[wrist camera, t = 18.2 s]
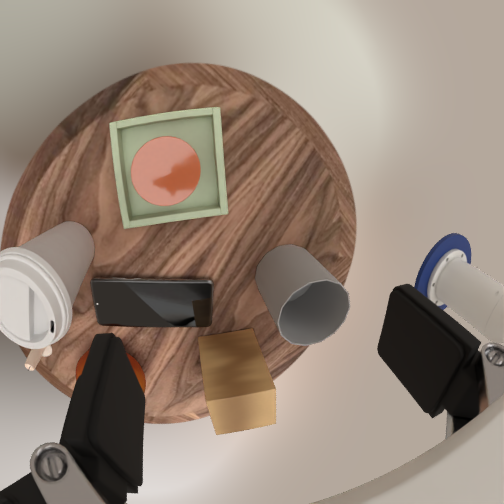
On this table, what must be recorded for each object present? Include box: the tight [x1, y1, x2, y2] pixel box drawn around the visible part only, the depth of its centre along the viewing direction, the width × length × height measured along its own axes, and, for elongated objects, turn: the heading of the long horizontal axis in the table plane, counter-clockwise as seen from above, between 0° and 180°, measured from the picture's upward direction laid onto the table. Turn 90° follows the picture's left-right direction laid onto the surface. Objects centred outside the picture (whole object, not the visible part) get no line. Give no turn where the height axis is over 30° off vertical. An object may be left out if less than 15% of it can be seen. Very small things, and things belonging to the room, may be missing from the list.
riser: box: [198, 328, 276, 435], centre depth 36 cm, size 8×8×12 cm
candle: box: [25, 336, 64, 371], centre depth 28 cm, size 5×5×10 cm
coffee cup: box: [0, 221, 95, 349], centre depth 23 cm, size 10×10×15 cm
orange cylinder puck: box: [131, 136, 201, 206], centre depth 26 cm, size 6×6×6 cm
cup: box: [255, 244, 350, 346], centre depth 33 cm, size 8×8×10 cm
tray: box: [109, 107, 228, 229], centre depth 28 cm, size 12×12×3 cm
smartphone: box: [91, 277, 214, 327], centre depth 34 cm, size 7×1×16 cm
